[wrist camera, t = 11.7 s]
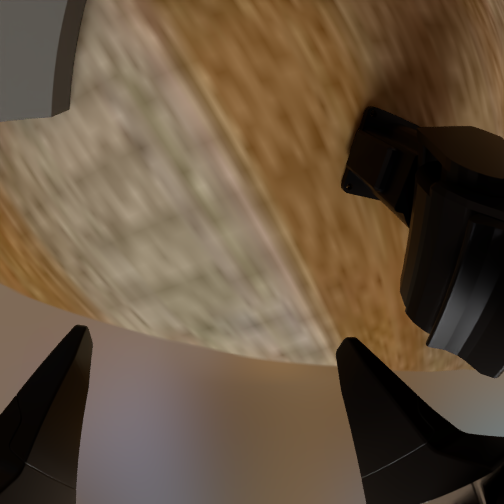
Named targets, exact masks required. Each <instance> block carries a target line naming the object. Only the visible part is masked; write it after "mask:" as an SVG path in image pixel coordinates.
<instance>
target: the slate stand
mask: <svg viewBox="0 0 504 504" xmlns="http://www.w3.org/2000/svg"><path fill="white" fill-rule="evenodd" d="M85 3H86V0H0V122H3V121H11V120H21V119H32V118H45V117H53V116H55V115H57V114H60V113H62V112H65V111H67V110H69V104H70V91H71V81H72V72H73V64H74V57H75V50H76V44H77V39H78V33H79V28H80V24H81V19H82V15H83V11H84V6H85Z"/></svg>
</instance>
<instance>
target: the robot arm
mask: <svg viewBox="0 0 504 504" xmlns="http://www.w3.org/2000/svg"><path fill="white" fill-rule="evenodd" d="M371 111H374V115H373V116H371ZM346 165H347V168H346V171H345V174H344V177H343V180H342V183H341V188H342V189H343V190H344V191H345V192H346V193H349V194H354V195H358V196H363V197H367V198H372V199H376V200H380V201H382V202H383V203H384V204H385V205H386V206H387V207H388V208H389V209H390V210H391V211H392V212H393V213H394V214H395V215H396V216H397V217H398V218H399V219H400V220H401V221H402V222H403V223H404V224H405V225H406V226H407V227H408V228H409V235H408V242H407V248H406V254H405V258H404V265H403V270H402V275H401V280H400V293H401V296H402V299H403V302H404V305H405V307H406V309H405V312H406V314H407V315H408V317H409V318H410V319H411V320H412V321H413V322H414V323H415V324H416V325H417V326H419V327H420V328H421V329H422V330H424V331H425V332H427V333H429V334H430V335H429V337H428V339H427V341H426V345H427V346H428V347H432V348H438V349H443V350H446V351H448V352H451V353H453V354H455V355H458V356H459V357H460V358H462V359H463V360H465V361H466V362H467V363H468V364H470V365H471V366H472V367H473V368H474V369H476V370H477V371H478V372H479V373H481V374H483V375H486V376H489V377H492V378H497V377H499V376H500V375H501V374H502V373H503V372H504V139H503V138H502V137H500V136H498V135H495V134H492V133H490V132H487V131H484V130H482V129H479V128H476V127H472V126H444V127H419V126H417V125H415V124H413V123H411V122H409V121H407V120H405V119H402V118H400V117H398V116H396V115H393V114H391V113H389V112H386V111H384V110H381V109H379V108H377V107H374V106H368V107H367V108H366V109H365V112H364V115H363V119H362V122H361V125H360V128H359V131H358V132H357V133H356V136H355V139H354V142H353V145H352V148H351V151H350V154H349V157H348V160H347V163H346ZM348 184H350V186H349V187H348V188H346V186H347V185H348ZM92 348H93V343H92V339H91V336H90V332H89V329H88V327H87V326H83V325H76V326H74V327H73V328H72V329H71V331H70V332H69V333H68V334H67V335H66V336H65V337H64V338H63V339H62V341H61V342H60V343H59V344H58V345H57V346H56V348H55V349H54V350H53V351H52V352H51V353H50V355H49V356H48V357H47V358H46V359H45V360H44V361H43V363H42V364H41V365H40V366H39V367H38V368H37V370H36V371H35V372H34V373H33V375H32V376H31V377H30V378H29V379H28V381H27V382H26V383H25V384H24V386H23V387H22V388H21V389H20V391H19V392H18V393H17V396H15V397H14V398H13V400H12V401H11V402H10V404H9V405H8V406H7V407H6V408H5V410H4V411H3V412H2V413H1V414H0V504H76V482H77V468H78V456H79V447H80V439H81V431H82V424H83V417H84V411H85V405H86V399H87V394H88V388H89V378H90V366H91V355H92ZM336 360H337V366H338V373H339V380H340V386H341V392H342V396H343V400H344V404H345V408H346V412H347V416H348V420H349V424H350V428H351V433H352V437H353V441H354V446H355V450H356V454H357V459H358V463H359V469H360V473H361V477H362V484H363V489H364V494H365V498H366V504H504V437H496V436H486V435H485V436H484V435H476V434H468V433H465V432H463V431H461V430H459V429H457V428H456V427H455V426H453V425H452V424H451V423H450V422H448V421H447V420H446V419H445V418H443V417H442V416H441V415H439V414H438V413H437V412H436V411H434V410H433V409H432V408H431V407H430V406H429V405H428V404H427V403H426V402H424V401H423V400H422V399H421V398H420V397H419V396H417V394H416V393H415V392H414V391H413V390H412V389H411V388H409V387H408V386H407V385H406V384H405V383H404V382H403V381H402V380H401V379H400V378H399V377H398V376H397V375H396V374H395V373H394V372H392V371H391V370H390V369H389V368H388V367H387V366H386V365H385V364H384V363H383V362H382V361H381V360H380V359H379V358H378V357H377V356H375V355H374V354H373V353H372V352H371V351H370V350H369V349H368V348H367V347H366V346H365V345H364V344H363V343H362V342H360V341H359V340H358V339H357V338H356V337H347V338H345V339H344V340H343V342H342V343H341V345H340V346H339V348H338V349H337V351H336Z"/></svg>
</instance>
